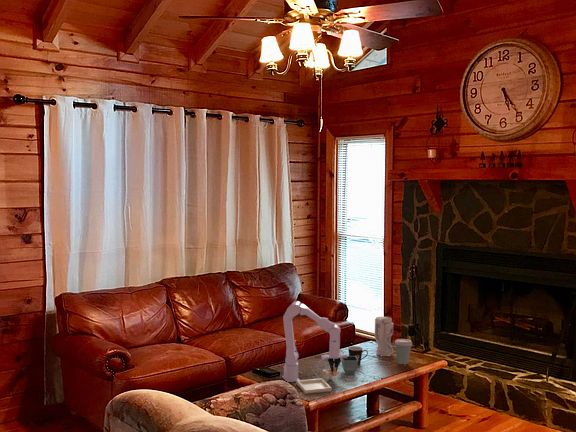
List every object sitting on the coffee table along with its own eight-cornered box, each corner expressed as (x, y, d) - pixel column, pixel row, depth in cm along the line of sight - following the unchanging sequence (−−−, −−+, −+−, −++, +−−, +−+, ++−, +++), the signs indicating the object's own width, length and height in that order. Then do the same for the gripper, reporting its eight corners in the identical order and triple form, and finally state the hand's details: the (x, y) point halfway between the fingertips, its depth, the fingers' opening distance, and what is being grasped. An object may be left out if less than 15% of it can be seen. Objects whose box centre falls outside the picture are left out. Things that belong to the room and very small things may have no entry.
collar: (322, 372, 348) (322, 364, 348) (334, 371, 350) (334, 363, 350) (329, 376, 338) (329, 368, 338) (340, 375, 340) (340, 367, 340)
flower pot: (340, 370, 362) (341, 355, 362) (355, 370, 363) (355, 355, 362) (342, 375, 354) (343, 360, 353) (357, 375, 354) (358, 360, 353)
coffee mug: (346, 365, 372) (347, 349, 371) (349, 361, 380) (349, 345, 379) (365, 367, 368) (366, 351, 367) (368, 363, 376) (368, 347, 376)
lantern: (382, 350, 403) (383, 313, 401) (395, 354, 395) (396, 316, 393) (370, 355, 394) (371, 316, 391) (383, 358, 386) (385, 319, 384)
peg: (327, 379, 347) (328, 372, 346) (331, 379, 347) (331, 372, 347) (329, 380, 345) (329, 373, 345) (332, 380, 346) (332, 373, 345)
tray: (296, 384, 339) (296, 380, 338) (321, 381, 343) (322, 378, 343) (305, 393, 324) (305, 390, 324) (331, 391, 329) (332, 387, 329)
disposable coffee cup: (390, 362, 379) (391, 339, 377) (402, 359, 385) (403, 336, 384) (402, 367, 370) (403, 343, 369) (415, 364, 377) (416, 340, 375)
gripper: (324, 350, 334) (324, 374, 335) (349, 348, 338) (348, 372, 339) (320, 346, 340) (319, 370, 342) (344, 345, 345) (343, 368, 346)
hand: (333, 371), depth 341 cm, fingers closed on collar
